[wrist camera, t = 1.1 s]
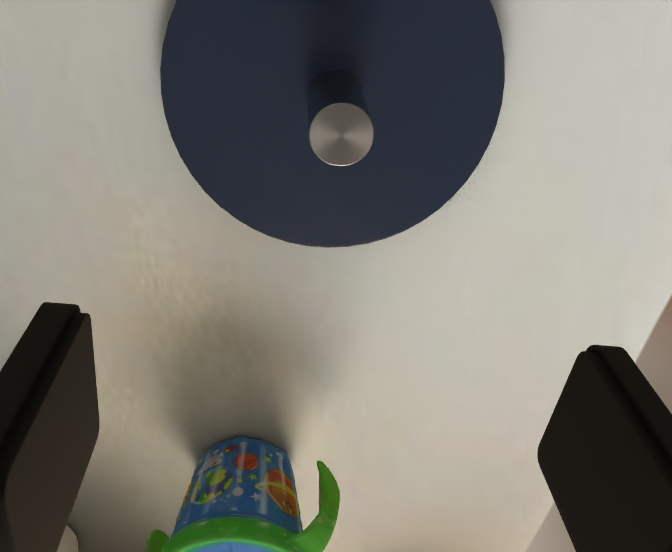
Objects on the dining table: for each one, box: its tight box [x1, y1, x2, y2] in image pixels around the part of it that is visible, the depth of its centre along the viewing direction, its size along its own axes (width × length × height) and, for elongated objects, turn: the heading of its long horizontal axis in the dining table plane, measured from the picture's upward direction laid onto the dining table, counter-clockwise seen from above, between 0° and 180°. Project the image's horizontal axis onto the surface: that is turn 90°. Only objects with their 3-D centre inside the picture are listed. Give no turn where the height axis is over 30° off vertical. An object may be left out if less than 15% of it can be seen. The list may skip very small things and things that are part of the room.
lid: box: [160, 0, 505, 248], centre depth 31 cm, size 18×18×7 cm
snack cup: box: [145, 436, 340, 552], centre depth 45 cm, size 16×10×10 cm
